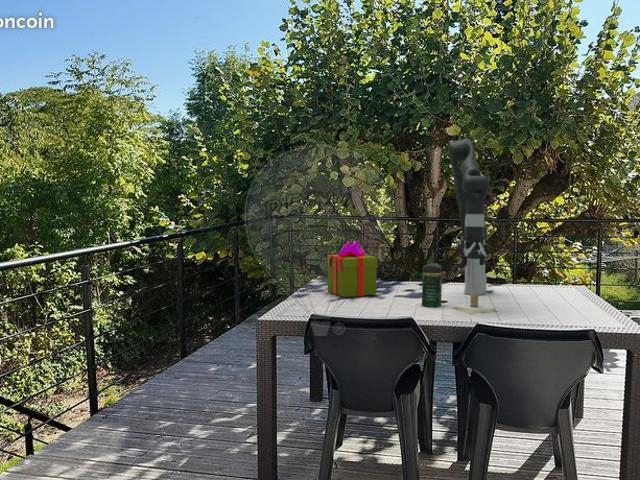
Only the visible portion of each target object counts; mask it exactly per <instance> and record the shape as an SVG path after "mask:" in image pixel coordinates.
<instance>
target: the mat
mask: <svg viewBox="0 0 640 480" xmlns="http://www.w3.org/2000/svg"><path fill="white" fill-rule="evenodd" d="M450 309H451V310H454V311H455V310H456V311H459V312H463V313H465V314H468V315H478V314H479V315H480V314H487V313H489V314H490V313H497V312H500V310H495V309H494V311H489V312H480V313H469V312H466V311H462V310H459V309H455V306H454V307H450Z"/></svg>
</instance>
